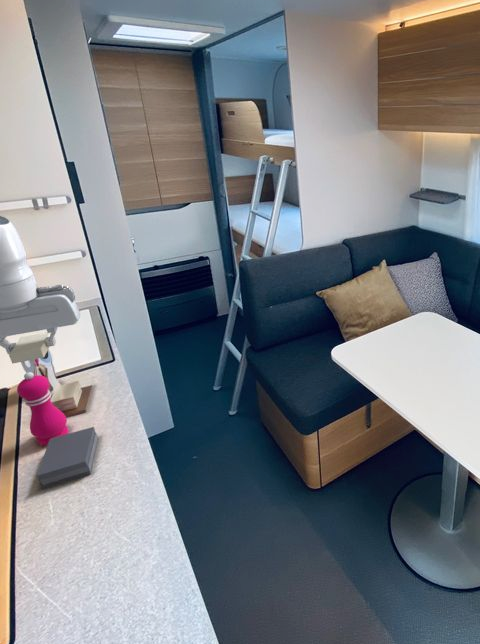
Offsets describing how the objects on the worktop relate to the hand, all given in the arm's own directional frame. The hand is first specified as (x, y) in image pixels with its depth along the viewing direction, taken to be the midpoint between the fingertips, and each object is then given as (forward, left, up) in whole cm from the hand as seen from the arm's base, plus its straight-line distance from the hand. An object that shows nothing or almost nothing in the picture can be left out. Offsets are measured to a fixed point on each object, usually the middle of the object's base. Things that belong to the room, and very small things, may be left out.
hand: (32, 348), depth 90 cm
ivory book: (0, 0, -1) cm, 1 cm away
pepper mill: (-5, +6, -29) cm, 30 cm away
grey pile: (+1, -6, -29) cm, 29 cm away
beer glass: (-11, +30, -29) cm, 43 cm away
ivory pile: (-4, +19, -29) cm, 34 cm away
